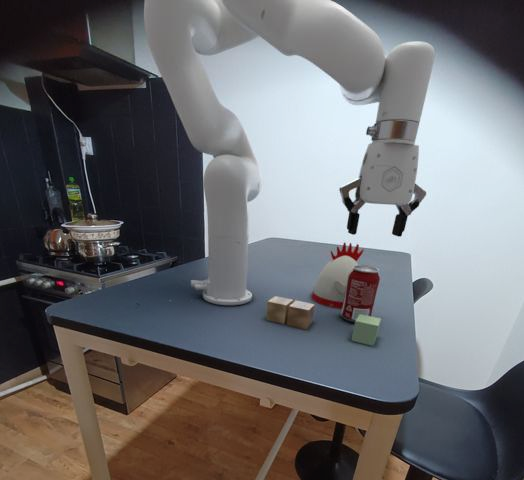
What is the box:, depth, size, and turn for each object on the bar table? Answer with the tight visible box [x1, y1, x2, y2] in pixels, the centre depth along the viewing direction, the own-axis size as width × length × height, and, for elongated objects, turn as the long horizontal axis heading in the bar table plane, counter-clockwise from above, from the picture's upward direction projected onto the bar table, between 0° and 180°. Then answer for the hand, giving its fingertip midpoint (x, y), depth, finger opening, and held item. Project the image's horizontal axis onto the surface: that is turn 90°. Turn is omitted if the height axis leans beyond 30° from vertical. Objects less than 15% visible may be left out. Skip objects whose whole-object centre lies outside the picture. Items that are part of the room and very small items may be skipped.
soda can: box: [340, 264, 381, 324], centre depth 72 cm, size 7×7×12 cm
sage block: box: [350, 314, 382, 347], centre depth 64 cm, size 4×4×4 cm
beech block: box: [286, 299, 316, 330], centre depth 69 cm, size 4×4×4 cm
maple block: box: [265, 295, 294, 325], centre depth 71 cm, size 4×4×4 cm
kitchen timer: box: [311, 241, 364, 309], centre depth 83 cm, size 14×14×15 cm
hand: (374, 234), depth 66 cm, fingers open, 9 cm apart
